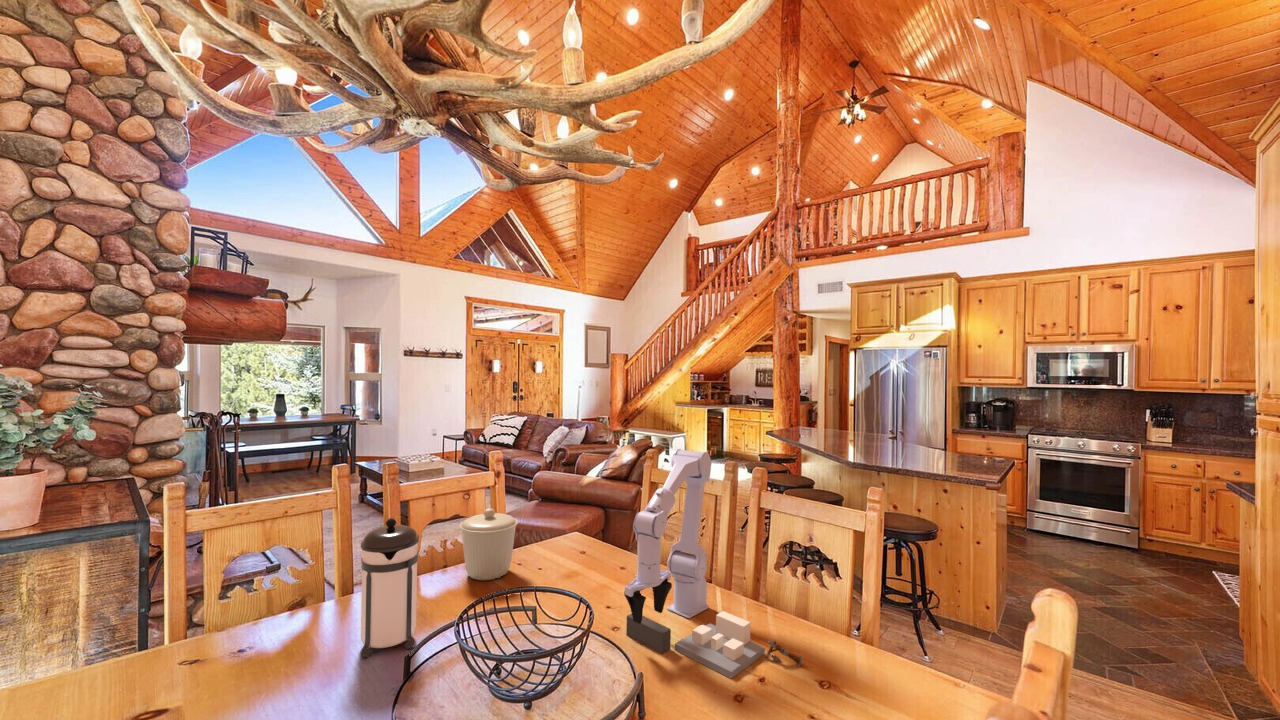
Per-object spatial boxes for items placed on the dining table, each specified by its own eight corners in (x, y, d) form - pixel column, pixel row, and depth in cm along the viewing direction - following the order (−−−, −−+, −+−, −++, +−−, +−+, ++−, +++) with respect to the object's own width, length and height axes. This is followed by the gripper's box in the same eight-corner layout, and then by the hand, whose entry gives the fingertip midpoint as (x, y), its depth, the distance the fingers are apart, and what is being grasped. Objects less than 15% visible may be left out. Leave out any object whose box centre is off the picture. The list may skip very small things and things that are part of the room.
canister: (465, 564, 174) (466, 501, 174) (520, 562, 176) (521, 500, 176) (452, 587, 156) (453, 517, 156) (513, 585, 158) (514, 516, 158)
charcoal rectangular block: (634, 631, 132) (635, 611, 132) (670, 650, 124) (670, 629, 124) (626, 635, 130) (626, 615, 130) (662, 654, 122) (662, 633, 122)
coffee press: (438, 633, 129) (441, 513, 130) (383, 666, 115) (385, 531, 115) (390, 618, 137) (392, 504, 137) (332, 647, 122) (334, 520, 122)
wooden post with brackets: (761, 652, 121) (770, 636, 121) (794, 671, 119) (802, 655, 119) (761, 657, 120) (769, 640, 119) (794, 676, 118) (802, 659, 117)
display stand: (709, 629, 133) (710, 605, 133) (764, 653, 122) (765, 628, 122) (674, 649, 123) (675, 624, 123) (731, 678, 112) (731, 651, 112)
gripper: (656, 549, 135) (655, 601, 135) (616, 564, 125) (615, 620, 124) (677, 556, 130) (676, 611, 130) (637, 572, 120) (636, 631, 119)
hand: (648, 616), depth 127 cm, fingers open, 7 cm apart
